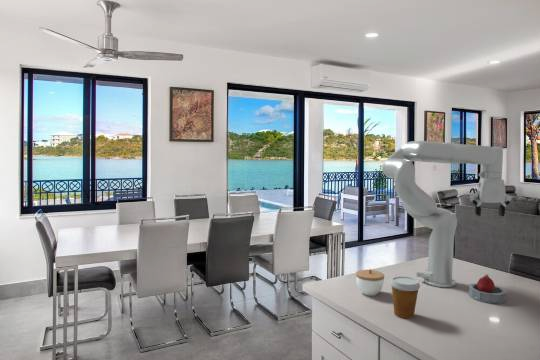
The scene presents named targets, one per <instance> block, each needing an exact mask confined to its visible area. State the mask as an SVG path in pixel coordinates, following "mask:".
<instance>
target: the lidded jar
mask: <svg viewBox="0 0 540 360" xmlns="http://www.w3.org/2000/svg"><path fill="white" fill-rule="evenodd" d="M355 277H356V278H355V279H356V280H355V281H356V282H355V283H356V287H357V288H358V290H359V291H360V292H361V294H363V295H365V296H369V297H370V296H371V297H373V296H374V297H375V296H377V295H378V294H379V293H380V292H381V291H382V289H383V287H384V284H385V274H384V273H383V272H382V271H378V270H374V269H370V268H369V269H362V270H361V269H360V270H357V271H356V272H355Z"/></svg>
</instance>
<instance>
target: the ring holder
mask: <svg viewBox="0 0 540 360" xmlns="http://www.w3.org/2000/svg"><path fill="white" fill-rule="evenodd" d="M477 284H478V282H476V283H475V282H474V283H472V284H470V285H469V287H468V296H469V297H470V298H471V299H473V300H474V301H478V302H480V303H485V304H493V305H497V304H498V305H499V304H503V303H505V301H506V292H507V291H506V290H505V289H503V288H502V287H500V286H497V285H495V288H494V291H493V292H491V293H486V292H481V291H480V290H479V289H478V285H477Z"/></svg>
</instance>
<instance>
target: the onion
mask: <svg viewBox="0 0 540 360" xmlns="http://www.w3.org/2000/svg"><path fill="white" fill-rule="evenodd" d="M477 283H478V284H477V285H478V289H479V290H480V291H481V292H486V293H491V292H493V291H494V288H495V286H496V285H495V282H494V280H492V278H491V277H489V274H487V273H486V274H485V275H484V276H482V277H480V278H479V279H478V282H477Z"/></svg>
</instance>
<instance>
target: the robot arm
mask: <svg viewBox="0 0 540 360" xmlns="http://www.w3.org/2000/svg"><path fill="white" fill-rule="evenodd" d="M503 157H504V149H503V148H502V147H500V146H489V145H477V144H462V143H455V142H454V143H452V142H441V141H429V140H417V141H416V140H414V141H413V140H410V141H408V142H406V143H404V144H403V145H402V146H401V147H400V148H398V149H397V150H396V151H395V152H393V153H392V154H391V155H390V156H389V157H388V158H387V159H385V160H384V162H383V163H382V167H381V172H382V173H383V175H385V177H387V178H388V179H389V178H390V179H393V180H394V189H395V190H394V191H395V193H396V195H397V196H398V197H399V199H401V205H402V208H403V209H404V211H405V212H406V213H407V214H408V215H409V216H411V217H412V218H413V219H415V220H416V221H417V222H418V223H419V224H420V225H422V226H424V227H425V228H428V229H432V231H431V233H430V236H429V239H428V257H427V258H428V262H427V269H425V271H423V272H422V271H421V272H420V271H416V272H415V276H416V277H418V278H420V279H423V281H424V283H425V284H427V285H429V286H433V287H439V288H453V287H456V285H457V282H456V280H455V279H453V267H454V265H453V264H454V243H455V241H454V240H455V234H456V229H457V225H458V219H457V216H456V214H454V212H452V211H451V210H449V209H446V208H443V207H442V208H441V207H437V203H436V200H435V199H434V198H433V197H432V196H431V195H429V194H428V193H427V192H426V191H425V190H424V189H422V188H421V187H420V186H419V185H418V184H417V183H416V181H415V173H416V170H415V169H416V168H415V165H414V163H413V162H423V163H435V164H436V163H438V164H450V165H451V164H456V165H457V164H470V165H481V172H479V173H478V177H481V178H479V182H478V186H477V192H475V193H472V194H471V195H469V196H468V198H469V199H470V201H471V203H472V204H473V206H474V213H475V216H478V217H481V213H482V211H481V210H482V207H481V205H482V204H483V203H485V204H486V203H487V204H488V203H489V204H499V206H498V216H500V217H504V216H505V214H506V207H507V206H508V205H509V204H510V202H511V201H512V199H513V196H511V195H509V194H507V193H506V184H505V179H502V178H503V164H504V163H503V159H504V158H503ZM475 198H476V199H475Z"/></svg>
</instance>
